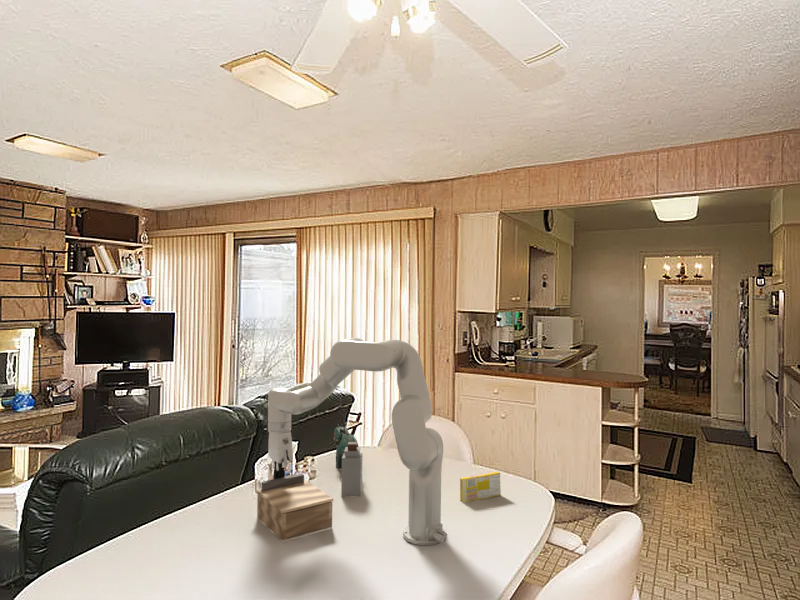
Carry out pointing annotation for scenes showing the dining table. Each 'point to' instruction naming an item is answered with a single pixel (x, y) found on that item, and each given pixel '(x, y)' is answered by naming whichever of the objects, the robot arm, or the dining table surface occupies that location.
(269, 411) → the robot arm
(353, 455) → the perfume bottle
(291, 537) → the wooden box
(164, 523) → the dining table surface
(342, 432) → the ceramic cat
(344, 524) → the dining table surface
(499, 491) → the candy box
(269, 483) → the sliding wooden box lid
